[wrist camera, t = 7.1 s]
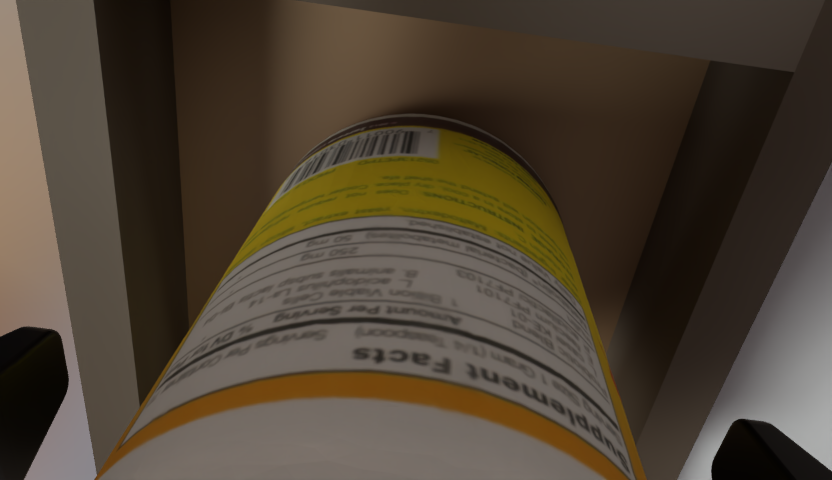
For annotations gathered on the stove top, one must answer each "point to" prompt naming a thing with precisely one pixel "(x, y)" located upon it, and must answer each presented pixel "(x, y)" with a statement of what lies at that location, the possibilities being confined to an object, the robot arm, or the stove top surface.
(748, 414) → the stove top surface
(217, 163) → the holder board
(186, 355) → the supplement bottle
